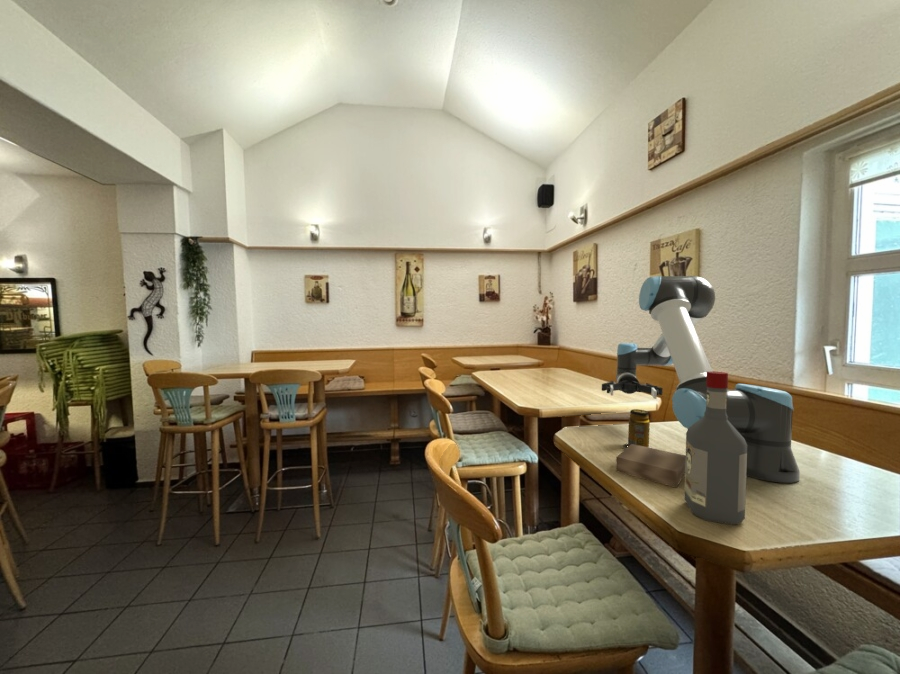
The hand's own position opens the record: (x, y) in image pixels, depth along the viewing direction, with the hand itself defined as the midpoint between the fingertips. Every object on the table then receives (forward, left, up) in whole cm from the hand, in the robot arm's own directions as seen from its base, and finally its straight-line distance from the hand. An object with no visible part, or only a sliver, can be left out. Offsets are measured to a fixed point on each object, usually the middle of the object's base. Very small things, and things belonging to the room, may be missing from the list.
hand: (633, 393), depth 123 cm
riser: (-12, +27, -16) cm, 34 cm away
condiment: (-4, +10, -16) cm, 19 cm away
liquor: (-27, +42, -16) cm, 53 cm away
